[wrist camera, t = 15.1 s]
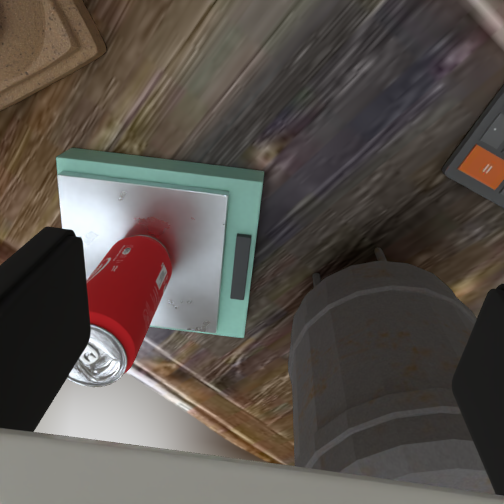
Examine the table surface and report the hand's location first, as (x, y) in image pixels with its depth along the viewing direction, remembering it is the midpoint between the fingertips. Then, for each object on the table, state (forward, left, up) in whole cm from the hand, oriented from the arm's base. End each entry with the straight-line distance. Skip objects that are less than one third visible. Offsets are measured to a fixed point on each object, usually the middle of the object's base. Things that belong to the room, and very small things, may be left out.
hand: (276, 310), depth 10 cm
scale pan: (+10, +12, -24) cm, 29 cm away
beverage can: (+10, +12, -23) cm, 28 cm away
